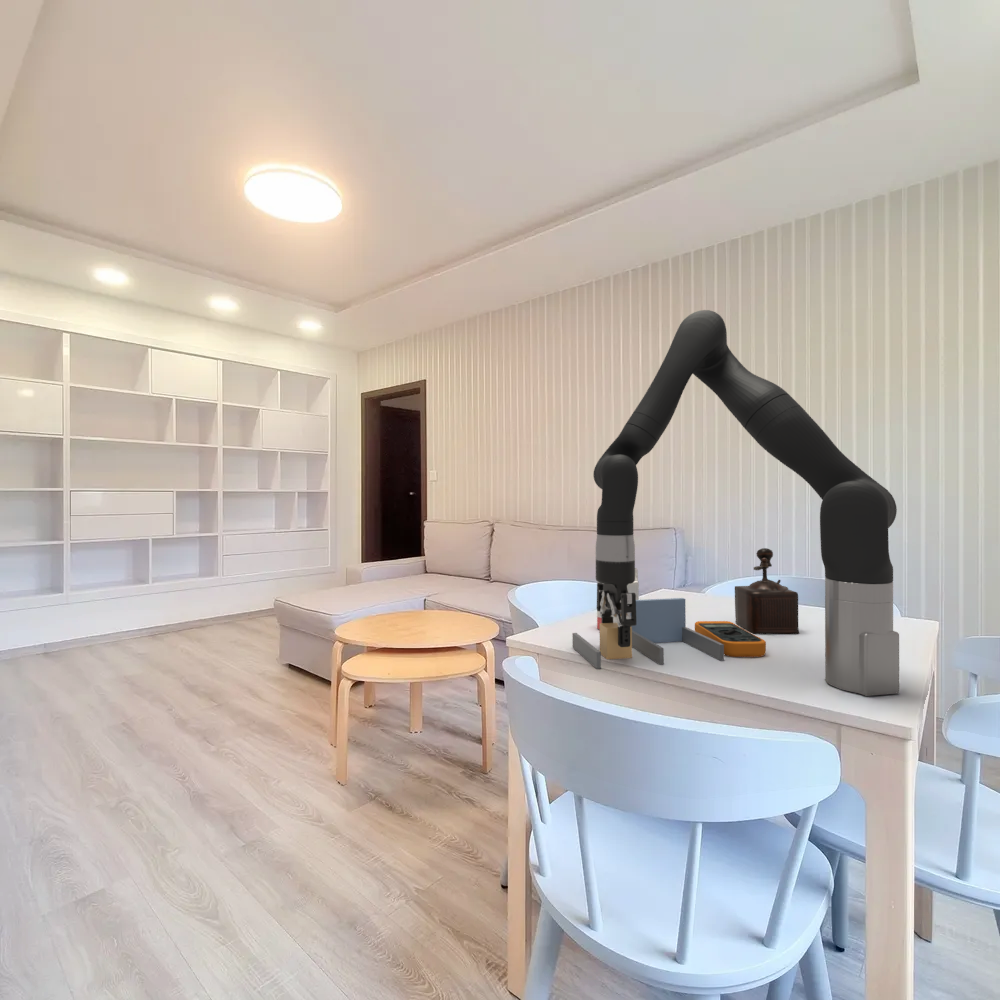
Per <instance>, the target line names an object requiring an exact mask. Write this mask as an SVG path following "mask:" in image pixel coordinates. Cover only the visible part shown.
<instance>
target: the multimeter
mask: <svg viewBox="0 0 1000 1000" xmlns="http://www.w3.org/2000/svg"><path fill="white" fill-rule="evenodd" d="M694 631H696V632H698V633H700V634H702V635H704V636H706V637H709V638H711V639H713V640H715V641H717V642H720V643H722V644H724V656H727V657H733V658H761V657H764V656H765V654H766V652H767V641H766V640H765V639H763V638H761V637H759V636H758V635H756V634H753V633H751V632H749V631H747V630H745V629H743V628H741V627H739V626H738V625H737V624H736V623H734V622H732V621H728V620H702V621H701V620H699V621H696V622H695V623H694Z"/></svg>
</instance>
